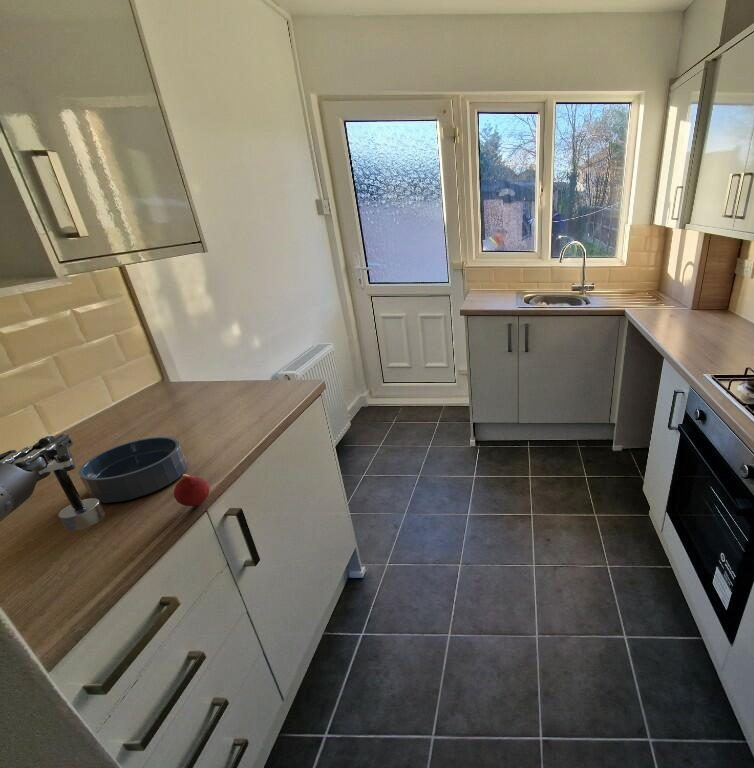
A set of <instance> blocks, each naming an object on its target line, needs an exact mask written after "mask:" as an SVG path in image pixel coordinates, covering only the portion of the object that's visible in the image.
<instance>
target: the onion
mask: <svg viewBox="0 0 754 768" xmlns="http://www.w3.org/2000/svg"><path fill="white" fill-rule="evenodd" d="M210 488H211V487H210V484H209V483H208V482H207V481H206V479H204V478H203V477H200V476H197V475H189V474H186V473H183V474H182V475H181V479H180V480H179V481H178V482H177V483H176V485H175V487H174V490H173V498H174V499H175V500H176V502H177V503H178V504H180V505H182V506H184V507H185V506H186V507H194V508H196V507H198V506H200V505H201V504H203V503H204V502H205V501H206V499H208V497H209V494H210V491H211V489H210Z"/></svg>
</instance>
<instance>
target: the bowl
mask: <svg viewBox="0 0 754 768" xmlns="http://www.w3.org/2000/svg"><path fill="white" fill-rule="evenodd" d="M187 469H188V461H187V457H186V456H185V452H184V450H183V447H182V445H181V443H180V441H179V440H178V439H177V438H174V437H171V436H154V437H153V436H151V437H145V438H140V439H136V440H132V441H128V442H125V443H122V444H120V445H116V446H113V447H111V448H108V449H106V450H104V451H102V452H100V453H98V454H96V455H94V456H92V457H91V458H89V459H88V460H87V461H85V462H84V463H83V464H82V465H81V466H80V467H79V469H78V473H77V474H78V476H79V478H80V480H81V482H82V484H83V486H84V487H85V489H86V491H87V493H88V495H89V498H95V499H98V500H99V502H100V503H102V504H103V503H104V504H110V503H120V502H121V503H122V502H125V501H130V500H133V499H136V498H140V497H144V496H147V495H149V494H152V493H154V492H156V491H158V490H160V489H162V488H163V489H164V488H165V487H166V486H168V485H170V484H172V483H173V482H174V481H177V479H179V478H180V477H182V475H183V474H185V473H186V470H187Z"/></svg>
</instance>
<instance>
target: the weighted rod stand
mask: <svg viewBox="0 0 754 768" xmlns="http://www.w3.org/2000/svg"><path fill="white" fill-rule="evenodd" d="M37 442H38V444H39V446H40V448H41V449H42V448H43V447H45V446H46V445H47V444H49V443H50V442H51V440H50V439H49V438H45V437H42V438H40V439H39V440H38V441H37ZM48 455H49V454H48ZM52 472H53V474H54V476H55V477H56V479H57V481H58V483H59V485H60V487H61V489H62V491H63V493H64V494H65V496H66V498H67V500H68V502H69V505H66V506H65V507H64V508H62V509H61V510H60V511H59V512H58V518H59V520H60V521H61V523H62V524H63V526H64V528H65V530H66V531H68V532H77V531H80V530H85V529H87V528H90V527H92V526H94V525H96V524H98V523H99V522H100V521H102V520H103V519H104V518H105V516H106V512H105V509H104V508H103V505H102V503H101V502H99V500H98V499H95V498H91V497H89V498H84V499H82V498H81V496H80V494H79V492H78V490H77V488H76V486H75V484H74V482H73V480H72V479H71V477H70V475H69V473H68V471H65V470H64V469H62V470H61V469H58V470H54V471H52Z"/></svg>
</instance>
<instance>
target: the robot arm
mask: <svg viewBox="0 0 754 768" xmlns="http://www.w3.org/2000/svg"><path fill="white" fill-rule="evenodd" d="M44 438H49V439H50V440H51V442H50V443H49V444H47V445H46V446H45V447H43V448H42V449H41V448H40V446H39V444H38V441H37V442H36V443H34V444H33V445H30V446H25V447H23V448H21V449H20V450H18V451H17V450H16V449H10V450H7V451H5V452H3V453H0V523H1V522H2V521H3V520H5V519H6V518H7V517H9V515H11V514H12V513H13V512H14V511H16V510H17V509H18V508H19V507H21V505H22V504H24V503H25V502H26V501H27V500H28V499H30V498H31V496H32V495H33V493H34V491H35V488H36V485H37V483H38V482H40V481H42V480H43V479H46V478H47V477H49V476H50V475H51V472H53V471H54V470H58V469H61V470H62V469H64V470H65V471H67V472H70V471H73V470H75V469H76V464H75V461H74V457H73V455H72V453H71V450H70V449H69V448H70V447H72V446H73V445H74V442H73V440H72V438H71V436H70V435H69V434H68V433H63V434H60V435H58V436H57V437H56V438H55V436H54V435H48V436H47V435H46V436H45V437H44ZM48 454H49V455H48Z"/></svg>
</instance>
